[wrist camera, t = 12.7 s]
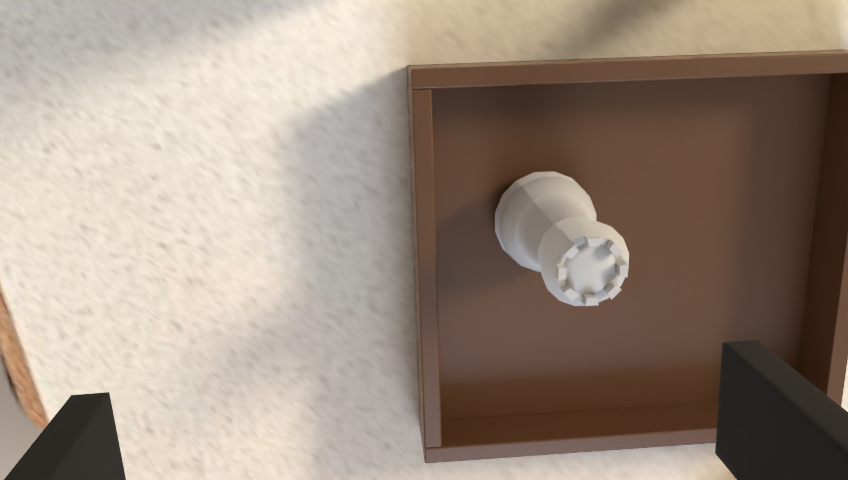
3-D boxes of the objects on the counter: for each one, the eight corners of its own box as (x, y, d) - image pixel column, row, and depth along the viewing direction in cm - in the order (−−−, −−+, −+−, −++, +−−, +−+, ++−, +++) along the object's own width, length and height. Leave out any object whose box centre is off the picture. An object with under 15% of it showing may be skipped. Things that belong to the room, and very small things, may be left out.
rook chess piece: (473, 207, 33) (505, 259, 25) (556, 148, 33) (614, 184, 25) (526, 282, 34) (573, 354, 27) (607, 227, 34) (678, 284, 26)
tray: (406, 65, 32) (410, 68, 29) (843, 49, 33) (890, 51, 30) (420, 429, 37) (424, 463, 34) (800, 403, 38) (837, 434, 35)
